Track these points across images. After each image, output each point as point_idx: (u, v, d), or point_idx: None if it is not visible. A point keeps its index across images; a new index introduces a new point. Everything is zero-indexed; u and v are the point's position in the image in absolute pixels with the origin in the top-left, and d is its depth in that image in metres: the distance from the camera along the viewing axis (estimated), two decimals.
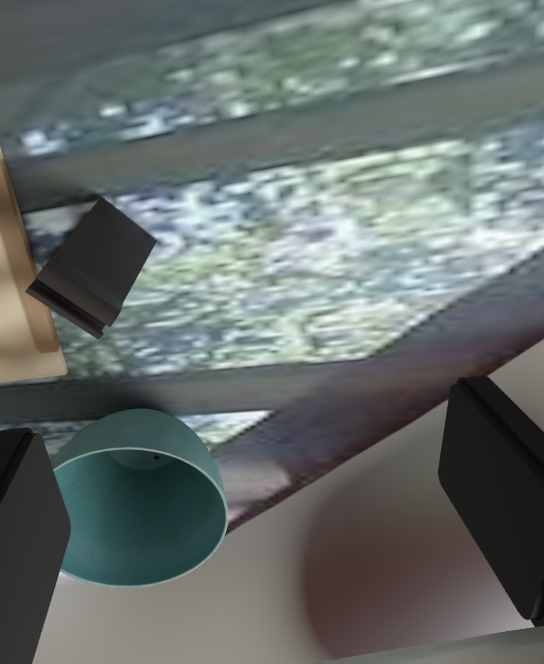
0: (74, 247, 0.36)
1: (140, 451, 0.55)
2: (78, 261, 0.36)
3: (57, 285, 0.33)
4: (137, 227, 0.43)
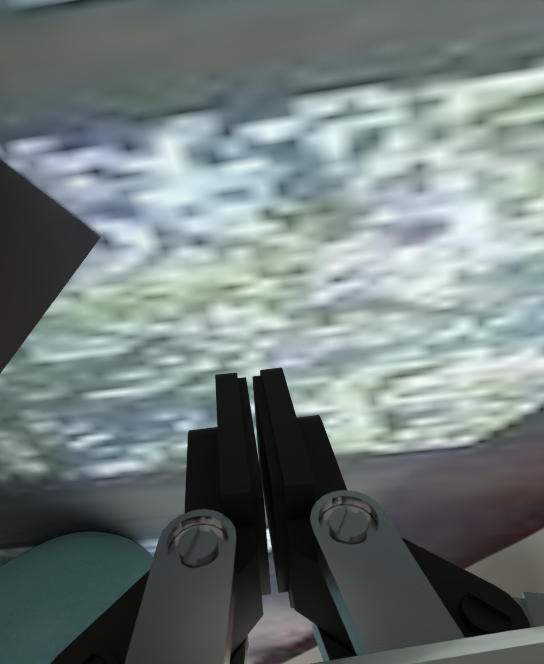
0: None
1: None
2: None
3: None
4: (57, 208, 0.20)
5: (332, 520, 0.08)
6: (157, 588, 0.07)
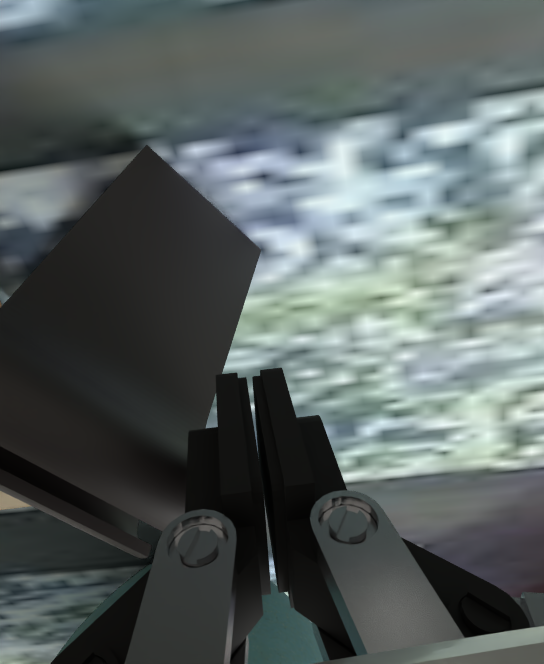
0: (74, 274, 0.13)
1: None
2: (83, 317, 0.12)
3: (2, 422, 0.09)
4: (222, 219, 0.19)
5: (332, 520, 0.08)
6: (157, 588, 0.07)
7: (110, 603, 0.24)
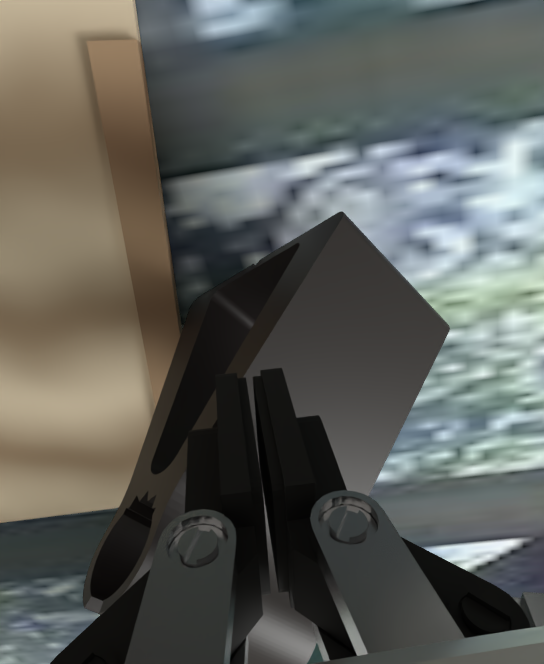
0: None
1: None
2: None
3: None
4: (413, 299, 0.16)
5: (332, 520, 0.08)
6: (157, 588, 0.07)
7: None
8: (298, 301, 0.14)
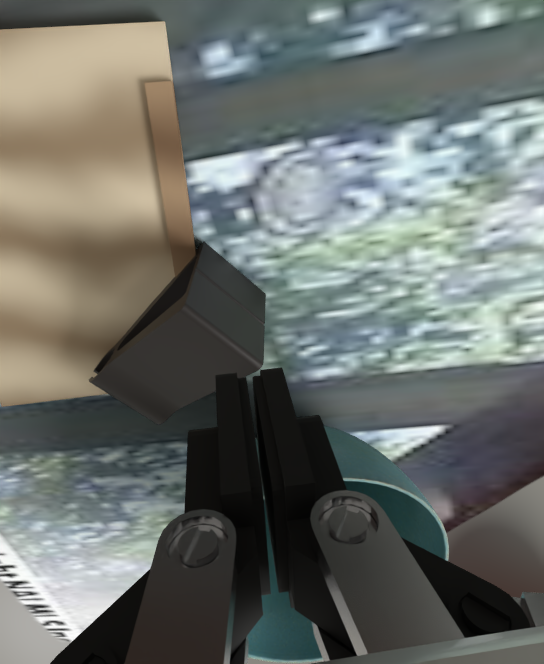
0: (130, 361, 0.31)
1: None
2: (133, 373, 0.32)
3: None
4: (230, 351, 0.28)
5: (332, 520, 0.08)
6: (157, 588, 0.07)
7: None
8: (155, 333, 0.28)
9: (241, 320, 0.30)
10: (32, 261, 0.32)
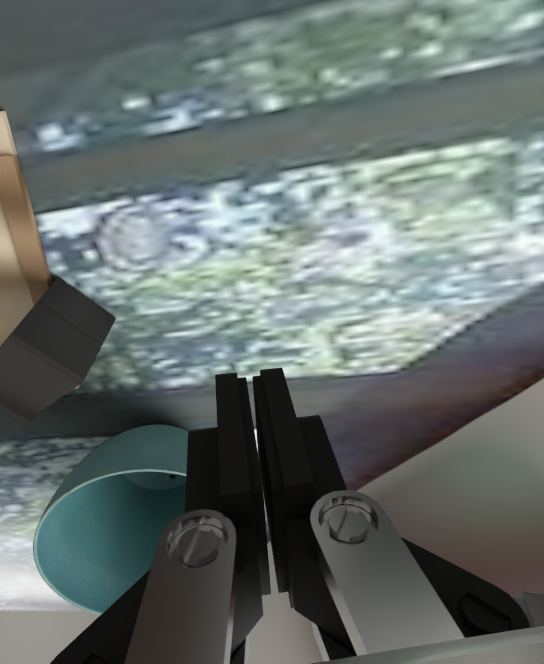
0: None
1: None
2: None
3: None
4: (55, 369, 0.35)
5: (332, 520, 0.08)
6: (157, 588, 0.07)
7: None
8: None
9: (74, 343, 0.37)
10: None
